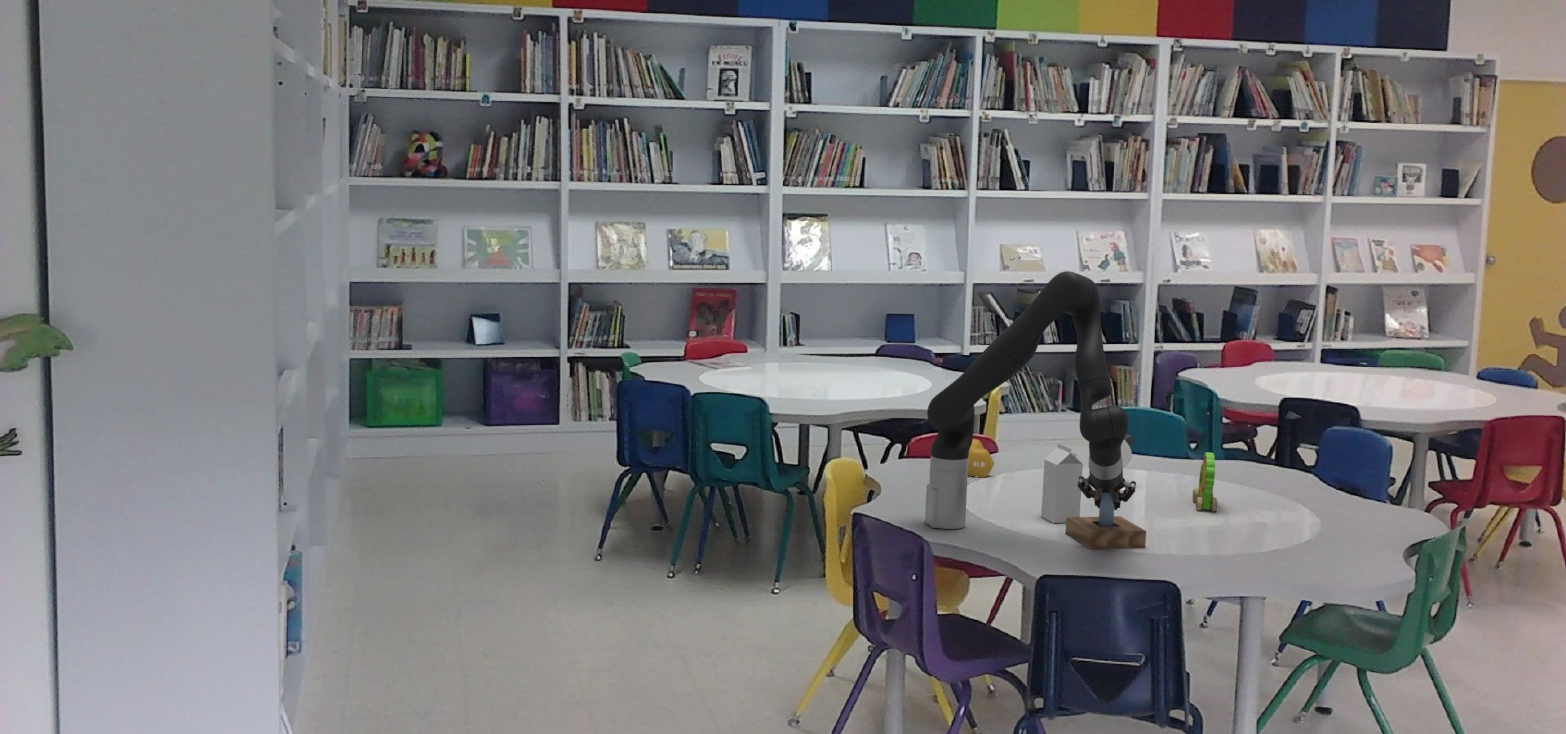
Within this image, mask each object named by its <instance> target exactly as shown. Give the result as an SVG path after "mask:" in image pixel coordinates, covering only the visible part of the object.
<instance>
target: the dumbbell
mask: <svg viewBox="0 0 1566 734" xmlns="http://www.w3.org/2000/svg"><path fill="white" fill-rule="evenodd" d="M994 465H995V462H994V460H993V457H992V455H991V454H990V452H989V451H988V449H986V448H984V446H983V444H982V442H981V441H980V440H979V439H978V438H977V439H976V438H973V440H972V445H971V447H970V450H969V459H968V476H969V475H970V476H978V477H977V478H987V476H989V474H990V472H991V471H992V470H993V468H994ZM970 476H969V477H970Z"/></svg>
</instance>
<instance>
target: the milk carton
mask: <svg viewBox="0 0 1566 734" xmlns="http://www.w3.org/2000/svg"><path fill="white" fill-rule="evenodd" d="M1077 456H1078V454H1077V453H1076V452H1075V451H1074V450H1073V449H1072V447H1069V446H1067V445H1064V444H1061V443H1059V442H1058V443H1057V447H1056V448H1055V449H1054V450H1053V451H1052V452H1051V453H1049V454H1048V455H1047V456H1046V457H1045V458H1044V464H1043V465H1044V466H1043V478H1042V479H1043V480H1042V496H1041V499H1042V500H1041V501H1042V502H1041V515H1040V517H1042V518H1044V519H1045V520H1047V521H1049V522H1051V523H1053V524H1066V518H1067V517H1081V516H1080V515H1081V500H1082V491H1081V490H1080V489H1079V487H1078V479H1079V476H1083V469H1084V468H1083V467H1084V466H1083V463H1082V462H1081V461H1080V460H1079V459H1078V458H1077Z"/></svg>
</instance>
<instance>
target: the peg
mask: <svg viewBox="0 0 1566 734" xmlns="http://www.w3.org/2000/svg"><path fill="white" fill-rule="evenodd" d="M1100 497H1101V499H1100V508H1099V513H1098V517H1099V527H1113V521H1114V516H1115V510H1114V499H1113V498H1112V496H1111V494H1110V493H1101V496H1100Z"/></svg>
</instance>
